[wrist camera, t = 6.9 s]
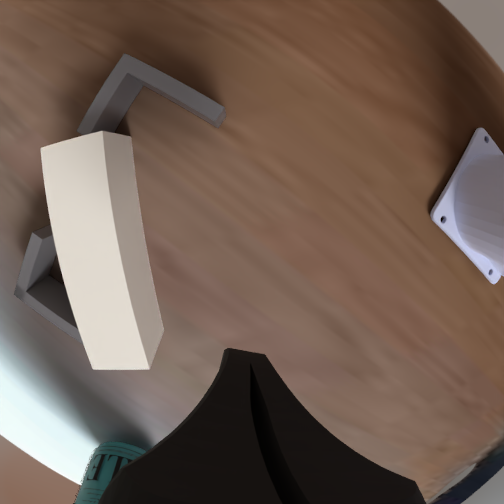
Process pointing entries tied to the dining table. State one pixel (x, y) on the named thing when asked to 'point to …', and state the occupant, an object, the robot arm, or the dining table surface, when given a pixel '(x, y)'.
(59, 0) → the dining table surface
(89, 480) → the beverage bottle
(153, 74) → the end cap
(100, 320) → the cream rectangular block
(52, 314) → the end cap
